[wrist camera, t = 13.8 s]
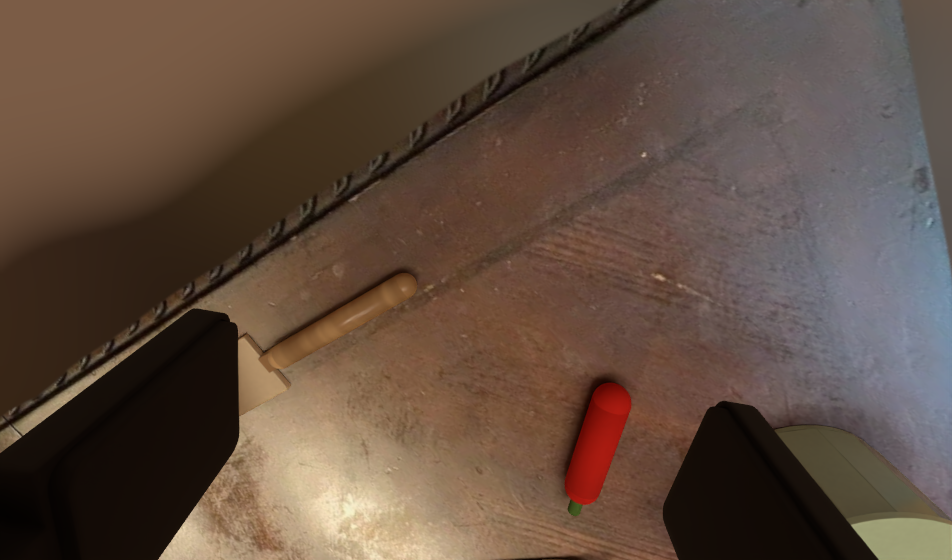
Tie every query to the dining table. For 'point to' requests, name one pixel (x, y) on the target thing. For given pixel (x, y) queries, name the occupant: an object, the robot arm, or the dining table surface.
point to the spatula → (311, 341)
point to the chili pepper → (596, 444)
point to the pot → (854, 473)
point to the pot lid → (905, 535)
